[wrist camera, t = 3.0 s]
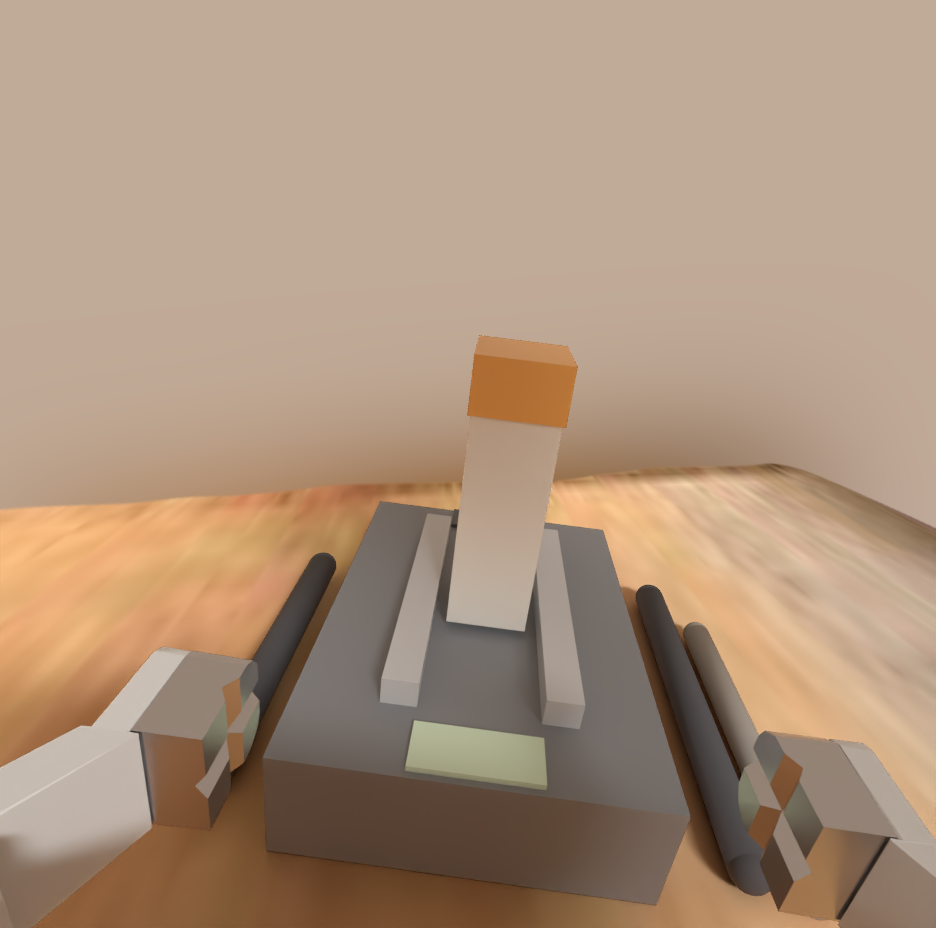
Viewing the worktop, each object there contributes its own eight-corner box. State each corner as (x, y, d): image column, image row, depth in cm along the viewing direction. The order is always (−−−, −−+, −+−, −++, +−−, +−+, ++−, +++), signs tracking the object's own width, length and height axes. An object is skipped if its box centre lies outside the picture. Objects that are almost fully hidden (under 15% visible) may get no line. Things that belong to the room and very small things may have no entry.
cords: (319, 558, 32) (319, 536, 31) (686, 606, 32) (693, 585, 31) (161, 837, 17) (156, 806, 17) (837, 932, 17) (854, 903, 17)
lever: (451, 574, 25) (479, 335, 21) (525, 584, 25) (567, 346, 20) (443, 622, 22) (474, 353, 18) (527, 633, 22) (577, 366, 18)
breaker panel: (376, 564, 32) (381, 484, 30) (588, 592, 32) (606, 513, 30) (266, 850, 18) (260, 731, 16) (656, 905, 17) (700, 791, 15)
